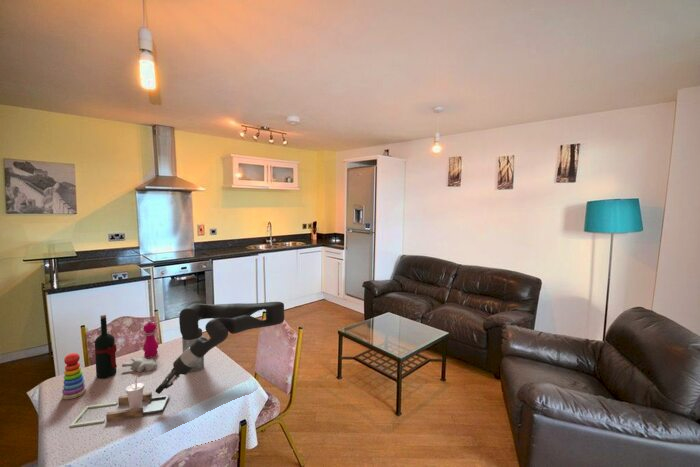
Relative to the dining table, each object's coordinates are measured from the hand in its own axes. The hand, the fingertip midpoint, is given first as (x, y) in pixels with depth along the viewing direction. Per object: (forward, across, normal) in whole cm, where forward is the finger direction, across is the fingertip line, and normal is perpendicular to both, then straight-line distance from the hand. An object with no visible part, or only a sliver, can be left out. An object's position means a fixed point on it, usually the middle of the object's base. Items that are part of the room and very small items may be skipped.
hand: (157, 391), depth 130 cm
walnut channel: (+12, 0, +3) cm, 12 cm away
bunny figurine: (+17, +36, +8) cm, 40 cm away
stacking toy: (+31, +18, +22) cm, 42 cm away
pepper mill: (+17, +51, +8) cm, 54 cm away
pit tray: (+5, 0, -4) cm, 6 cm away
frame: (+20, +1, +11) cm, 23 cm away
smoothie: (+10, 0, +1) cm, 11 cm away
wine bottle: (+26, +33, +17) cm, 45 cm away
